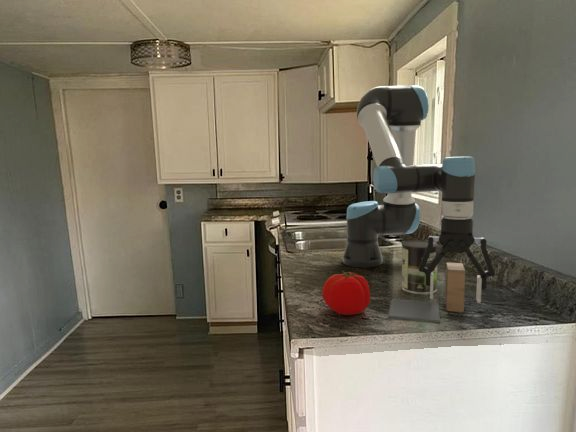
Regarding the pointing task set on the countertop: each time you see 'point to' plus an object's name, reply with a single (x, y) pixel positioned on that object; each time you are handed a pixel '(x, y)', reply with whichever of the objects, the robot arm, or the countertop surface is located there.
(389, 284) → the countertop surface
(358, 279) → the tomato
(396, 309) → the rubber mat
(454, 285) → the tan rectangular block
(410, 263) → the coffee can
